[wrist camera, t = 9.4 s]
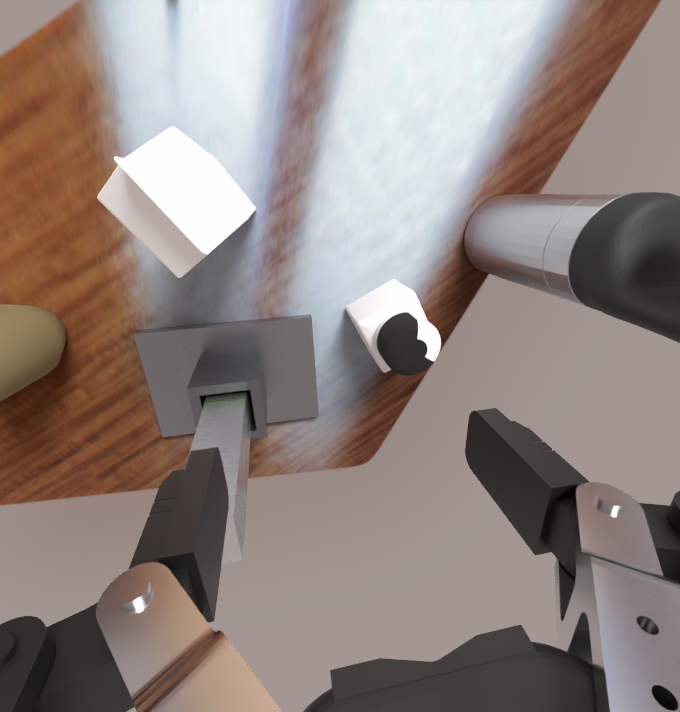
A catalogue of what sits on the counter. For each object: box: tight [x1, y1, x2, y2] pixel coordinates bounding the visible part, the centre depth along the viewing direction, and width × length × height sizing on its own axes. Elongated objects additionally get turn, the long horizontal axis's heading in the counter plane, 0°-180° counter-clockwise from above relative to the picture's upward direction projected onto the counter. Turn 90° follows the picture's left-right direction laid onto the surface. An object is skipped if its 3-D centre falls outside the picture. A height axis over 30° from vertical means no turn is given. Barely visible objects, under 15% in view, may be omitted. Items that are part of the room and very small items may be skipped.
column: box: [184, 390, 252, 565], centre depth 32 cm, size 4×4×18 cm
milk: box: [97, 126, 256, 279], centre depth 28 cm, size 6×6×22 cm
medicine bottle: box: [345, 279, 441, 375], centre depth 41 cm, size 7×7×12 cm
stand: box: [133, 315, 319, 439], centre depth 42 cm, size 20×14×10 cm
